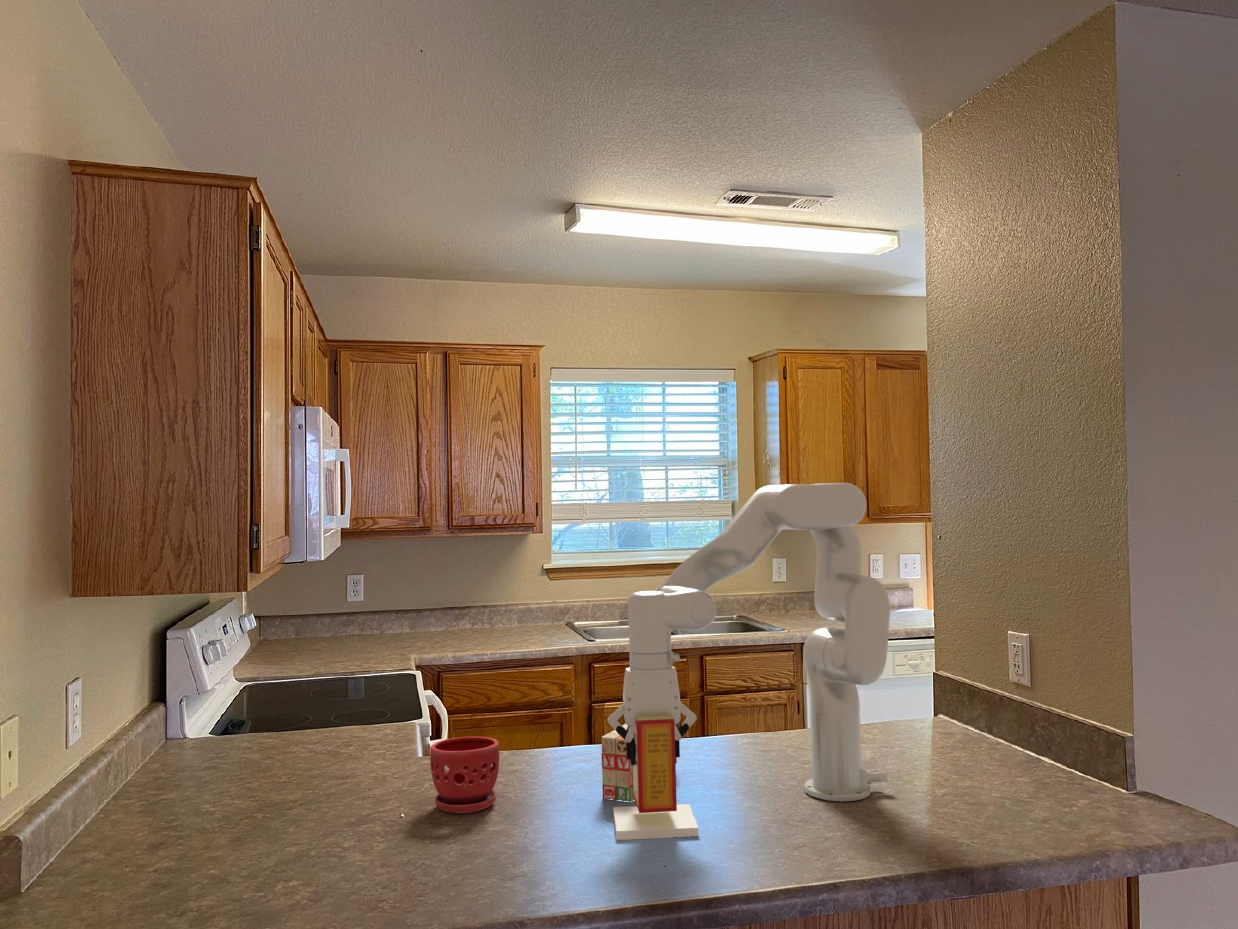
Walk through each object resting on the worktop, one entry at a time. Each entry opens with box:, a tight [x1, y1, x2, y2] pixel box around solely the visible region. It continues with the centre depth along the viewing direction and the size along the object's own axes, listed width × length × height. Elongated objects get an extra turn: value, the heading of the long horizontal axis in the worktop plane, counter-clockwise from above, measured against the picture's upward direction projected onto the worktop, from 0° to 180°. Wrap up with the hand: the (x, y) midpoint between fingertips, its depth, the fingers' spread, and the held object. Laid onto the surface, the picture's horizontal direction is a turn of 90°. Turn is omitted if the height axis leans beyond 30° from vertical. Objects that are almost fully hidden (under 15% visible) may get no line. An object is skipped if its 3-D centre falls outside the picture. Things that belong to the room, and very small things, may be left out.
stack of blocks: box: [601, 723, 634, 802], centre depth 182 cm, size 21×6×12 cm, turn 154°
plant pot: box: [429, 736, 500, 814], centre depth 172 cm, size 13×13×12 cm
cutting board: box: [612, 803, 699, 841], centre depth 159 cm, size 14×12×2 cm
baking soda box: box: [632, 716, 678, 813], centre depth 159 cm, size 10×6×16 cm
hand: (653, 761), depth 159 cm, fingers closed on baking soda box, 6 cm apart
